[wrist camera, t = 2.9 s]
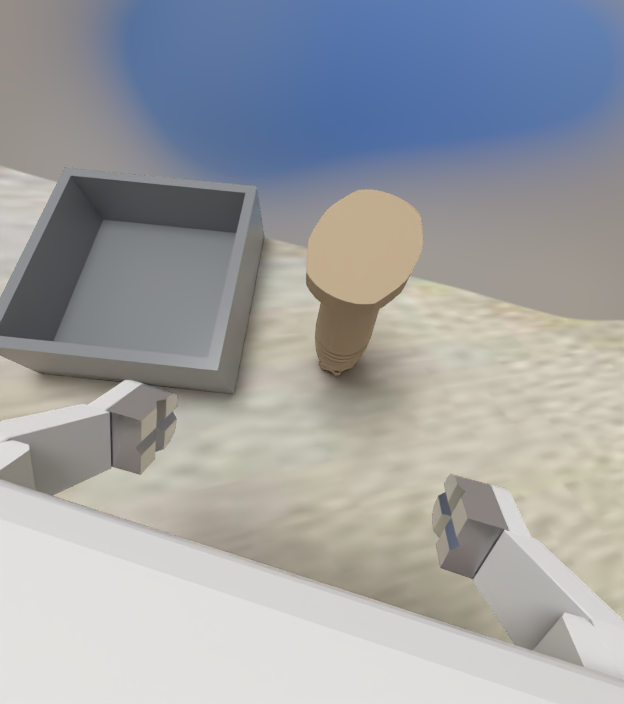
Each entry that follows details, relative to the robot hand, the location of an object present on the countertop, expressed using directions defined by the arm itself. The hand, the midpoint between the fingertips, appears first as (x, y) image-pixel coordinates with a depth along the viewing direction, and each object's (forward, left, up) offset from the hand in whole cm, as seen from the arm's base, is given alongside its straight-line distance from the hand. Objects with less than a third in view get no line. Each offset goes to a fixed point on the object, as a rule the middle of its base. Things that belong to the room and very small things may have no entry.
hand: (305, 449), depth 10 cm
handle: (-2, -10, -17) cm, 20 cm away
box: (+14, -14, -17) cm, 26 cm away
